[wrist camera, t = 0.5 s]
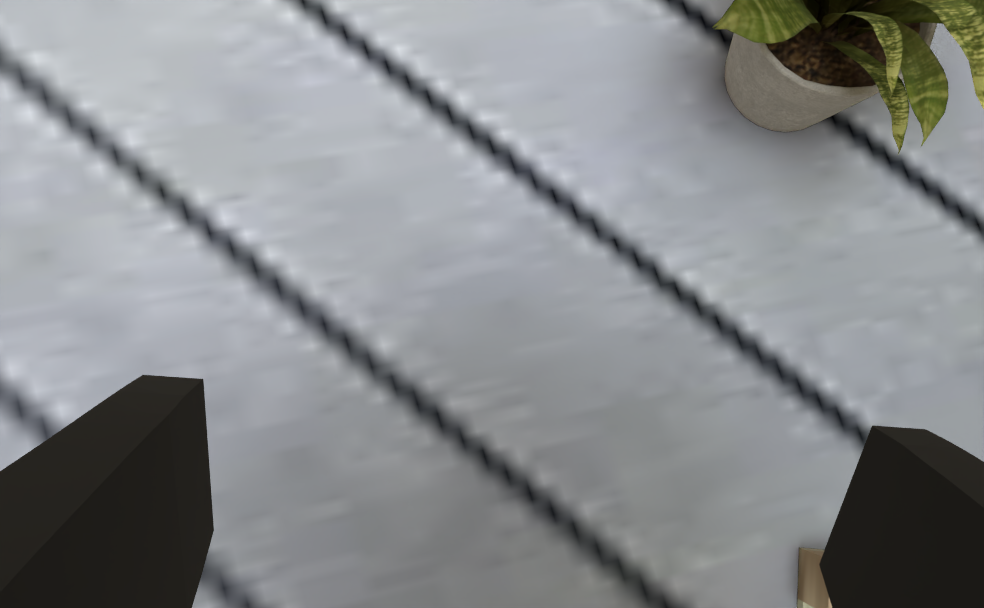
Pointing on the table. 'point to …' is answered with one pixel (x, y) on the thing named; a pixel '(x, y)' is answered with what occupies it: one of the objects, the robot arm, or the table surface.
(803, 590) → the u rest
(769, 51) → the house plant
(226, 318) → the table surface
